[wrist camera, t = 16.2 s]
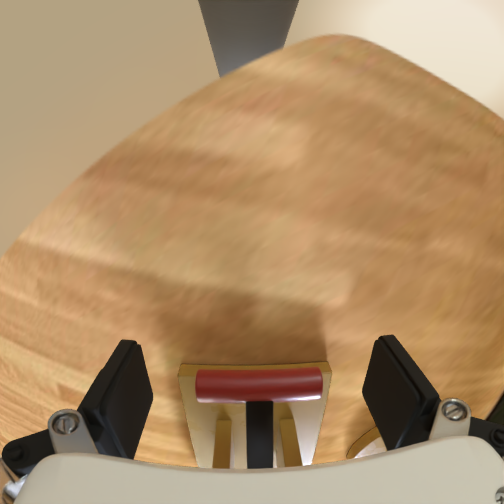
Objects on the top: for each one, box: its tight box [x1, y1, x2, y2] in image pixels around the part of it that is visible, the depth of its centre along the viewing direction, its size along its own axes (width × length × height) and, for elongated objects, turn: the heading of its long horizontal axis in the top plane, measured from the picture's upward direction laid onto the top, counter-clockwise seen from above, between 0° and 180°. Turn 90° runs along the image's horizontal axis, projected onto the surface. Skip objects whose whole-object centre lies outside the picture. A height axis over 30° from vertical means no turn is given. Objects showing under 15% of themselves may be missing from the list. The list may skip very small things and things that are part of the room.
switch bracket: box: [178, 362, 332, 469], centre depth 13 cm, size 12×9×12 cm
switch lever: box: [195, 366, 323, 469], centre depth 10 cm, size 12×5×2 cm, turn 0°
